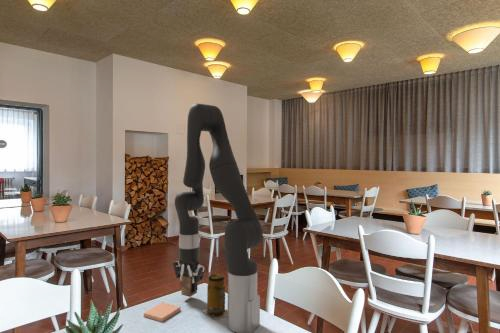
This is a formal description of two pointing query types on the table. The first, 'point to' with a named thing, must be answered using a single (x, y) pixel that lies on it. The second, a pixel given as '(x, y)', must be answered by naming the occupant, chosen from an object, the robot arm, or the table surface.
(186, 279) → the block
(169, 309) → the tile
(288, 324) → the table surface
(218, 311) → the condiment
